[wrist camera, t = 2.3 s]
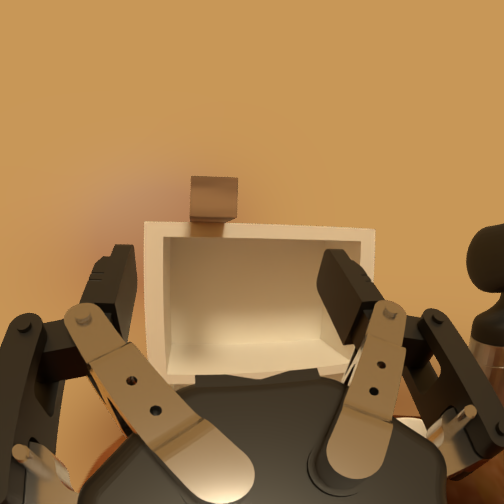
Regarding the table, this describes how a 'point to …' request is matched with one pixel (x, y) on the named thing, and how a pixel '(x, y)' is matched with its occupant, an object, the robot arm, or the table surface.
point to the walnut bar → (213, 199)
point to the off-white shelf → (243, 298)
